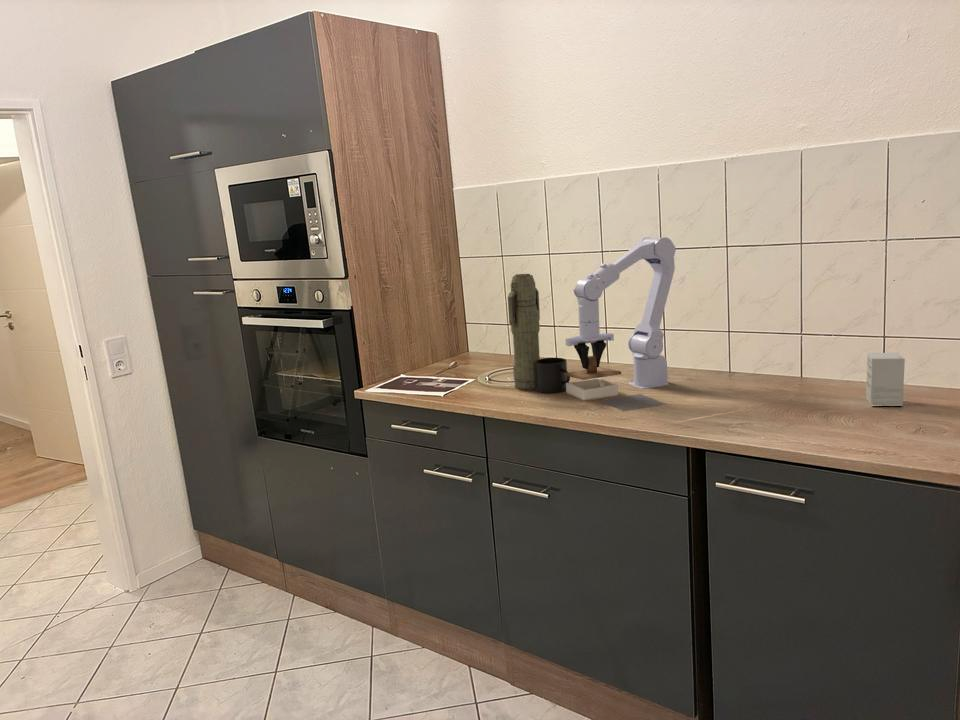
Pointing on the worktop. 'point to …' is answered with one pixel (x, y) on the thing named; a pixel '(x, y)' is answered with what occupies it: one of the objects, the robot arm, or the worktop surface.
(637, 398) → the mat
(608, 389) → the dish
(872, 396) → the supplement box
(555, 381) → the mug
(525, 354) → the thermos
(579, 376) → the lid
